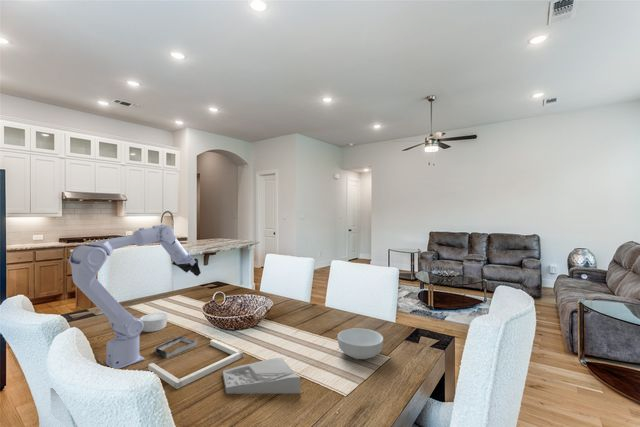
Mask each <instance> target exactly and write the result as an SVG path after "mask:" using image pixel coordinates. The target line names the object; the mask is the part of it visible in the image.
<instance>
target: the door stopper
mask: <svg viewBox="0 0 640 427" xmlns="http://www.w3.org/2000/svg"><path fill="white" fill-rule="evenodd" d="M222 378H223V379H222V380H223V382H224V383H223V384H224V389H225V394H228V395H229V394H241V395H243V394H244V395H245V394H247V395H248V394H301V387H302V386H301V376H299V375H298V374H296V373H295V372H294V370H293V369H292V368H291V367H290V366H289V364H288V363H287V362H286V361H285V359H283V358H282V357H274V358H269V359H264V360H260V361H256V362H252V363H248V364H242V365H237V366H234V367H231V368H227V369H224V370H222Z"/></svg>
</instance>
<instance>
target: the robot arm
mask: <svg viewBox="0 0 640 427" xmlns="http://www.w3.org/2000/svg"><path fill="white" fill-rule="evenodd" d="M157 242H159V244H160V245H161V247H162V248H163V249H164V250H165V251H166V253H167V254H168V255H169V257H170V258H171V259H172V260H173V262H172V263H171V264H172V265H173V266H176V267H178V268H179V269H180V270H182V271H183V272H185V273H188V272H189V271H190V273H192V274H193V275H194V276H196V277H199V275H201V269H200V267H199V259H198V258H196V257H195V258H193V257H192V256H191V255H190V254H191V251H190V250H186V249H185V248H184V246H183V245H182V244H181V243H180V241H179V240H178V238H177V237H176V235H175V230H174V228H173V227H171V226H168V225H152V227H148V228H145V227H139V228H138V230H135V231H134V232H133V233H132V234H131V235H124V236H118V237H112V238H107V239H102V240H101V239H100V240H95V241H91V242H88V243H87V244H82V245H78V246H76V247H75V248H73V250H72V251H71V254H70V256H69V259H68V264H69V265H70V269H71V277H72V282H73V284H74V285H75V286H76V287H77V288H78V289H79V290H80V291H81V292H82V293H83V294H84V295H85V296H86V297H87V298H88V299H89V300H90V302H92V303H93V304H94V305H95V306H96V307H97V308H98V309H99V311H101V312H102V313H103V314H104V315H105V316H106V317H107V319H108V320H107V321H108V322H109V324H110V326H111V329H112V331H113V332H114V334H115V335H114V338H113V339H111V340H108V341H107V342H106V345H105V346H106V347H105V352H106V353H105V358H106V359H105V361H104V362H105V364H106V365H107V366H108V367H110V368H111V367H112V368H117V370H120V369H122V368H124V367H128V366H130V365H133V364H135V363H139V362H141V361H144V360H145V357H143V356H142V355H140V335H141V333H142V332H143V326H144V324H143V321H142V320H141V319H140V318H139V317H135V316H134V315H133V314H131V313H130V312H129V311H128V310H126V309H125V308H124V307H123V306H122V305H121V303H119V301H117V299H116V298H115V297H114V296H113V295H112V294H111V293H110V292H109V291H108V290H107V289H106V287H105V286H104V285H103V284H102V283H101V282H100V281H99V280H98V278H97V275H98V273H99V272H100V270H101V269H102V268H103V266H104V264H105V263H106V261H107V259H108V257H110V256H111V255H112V253H113V251H114V250H117V249H120V248H124V247H128V246H132V245H136V246H138V247H142V246H145V245H149V244H154V243H157ZM112 368H111V369H112Z"/></svg>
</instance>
